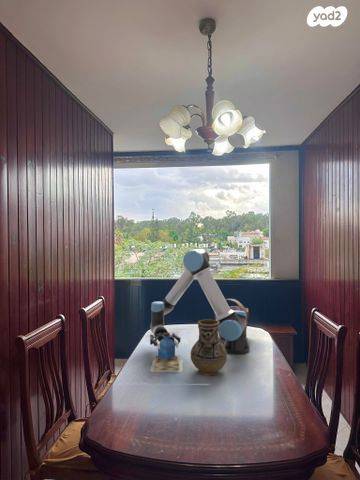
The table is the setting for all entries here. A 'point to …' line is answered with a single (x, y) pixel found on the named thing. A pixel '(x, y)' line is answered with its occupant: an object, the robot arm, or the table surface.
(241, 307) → the bucket
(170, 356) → the perfume bottle
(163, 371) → the felt mat
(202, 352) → the decorative pitcher
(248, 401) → the table surface
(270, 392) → the table surface
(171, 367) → the oak box
